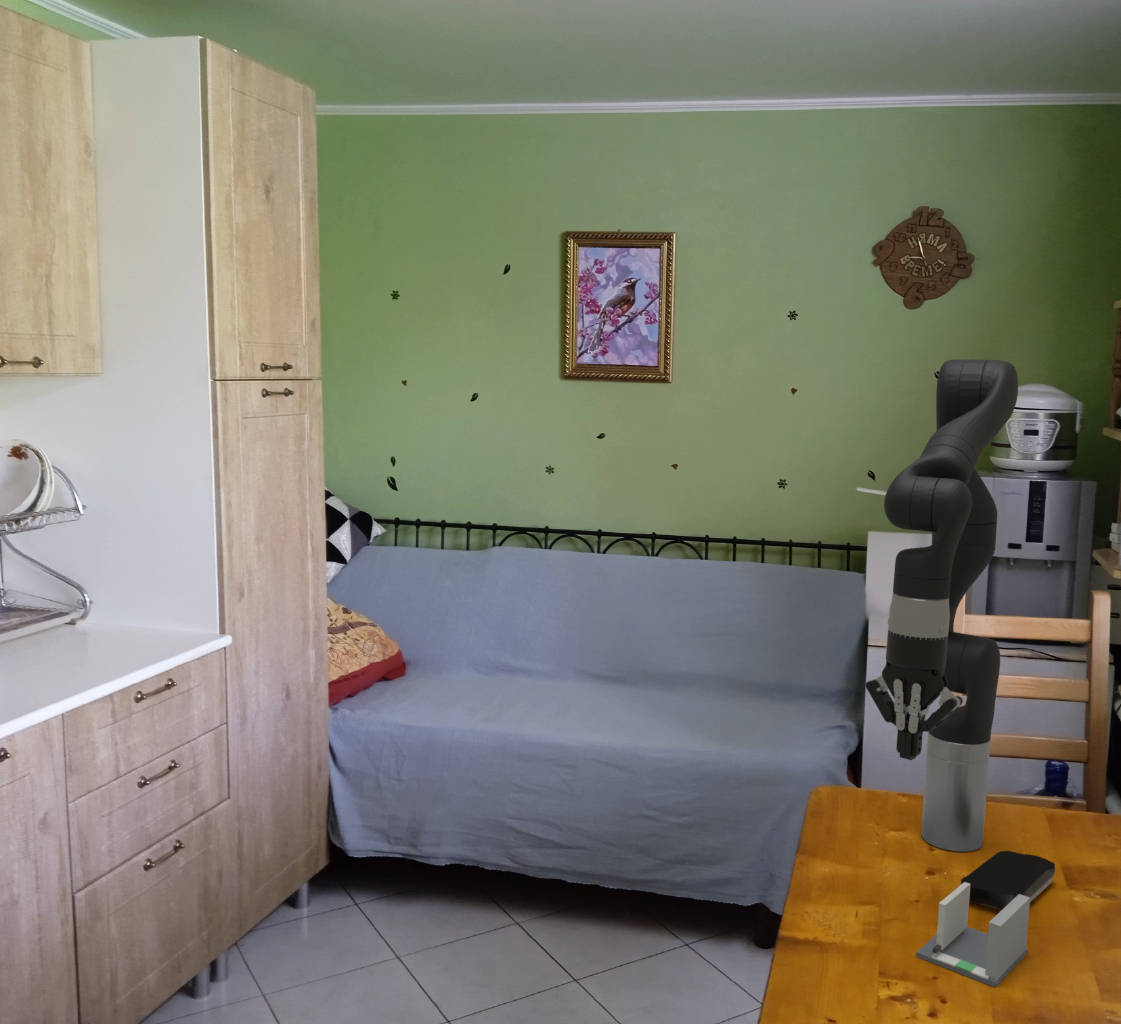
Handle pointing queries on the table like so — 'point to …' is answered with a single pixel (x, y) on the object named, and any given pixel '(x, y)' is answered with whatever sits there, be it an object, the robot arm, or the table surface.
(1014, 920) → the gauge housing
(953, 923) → the panel
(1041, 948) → the table surface
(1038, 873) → the black sponge
